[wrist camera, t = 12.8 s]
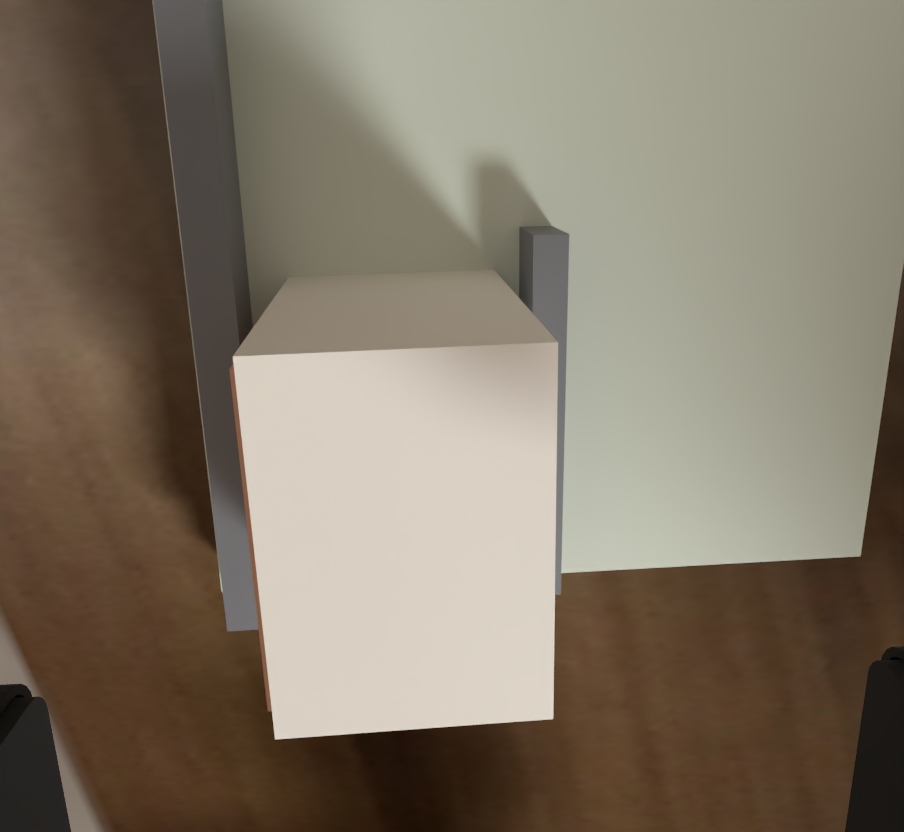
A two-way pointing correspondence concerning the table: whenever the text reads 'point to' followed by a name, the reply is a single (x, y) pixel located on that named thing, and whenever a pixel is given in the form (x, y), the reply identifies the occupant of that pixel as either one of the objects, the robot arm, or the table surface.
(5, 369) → the table surface
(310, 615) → the carton
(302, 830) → the table surface
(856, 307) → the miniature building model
